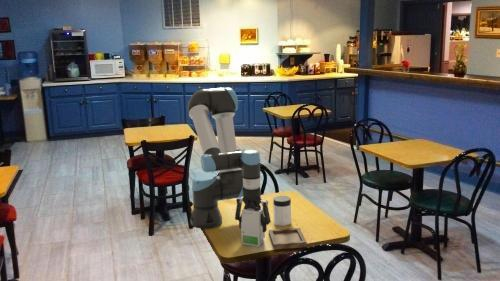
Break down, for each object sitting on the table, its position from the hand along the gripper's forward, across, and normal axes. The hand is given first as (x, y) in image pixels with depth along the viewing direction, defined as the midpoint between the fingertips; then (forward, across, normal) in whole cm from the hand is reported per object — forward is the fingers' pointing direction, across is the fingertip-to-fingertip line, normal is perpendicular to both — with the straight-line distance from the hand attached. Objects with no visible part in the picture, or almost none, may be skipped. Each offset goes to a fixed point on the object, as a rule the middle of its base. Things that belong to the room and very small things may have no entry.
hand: (253, 236), depth 201 cm
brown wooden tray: (+3, +13, +7) cm, 15 cm away
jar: (+3, +4, +25) cm, 25 cm away
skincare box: (+3, 0, 0) cm, 3 cm away
